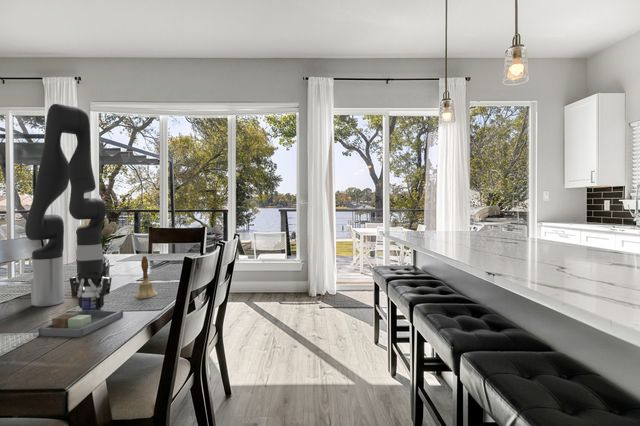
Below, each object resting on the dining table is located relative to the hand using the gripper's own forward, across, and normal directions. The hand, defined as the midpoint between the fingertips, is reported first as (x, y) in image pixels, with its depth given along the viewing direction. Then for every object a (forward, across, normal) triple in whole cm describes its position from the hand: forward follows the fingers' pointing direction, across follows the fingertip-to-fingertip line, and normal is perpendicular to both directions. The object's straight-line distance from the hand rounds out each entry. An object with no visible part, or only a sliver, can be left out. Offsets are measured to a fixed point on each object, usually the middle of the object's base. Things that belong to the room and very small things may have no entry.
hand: (91, 307), depth 125 cm
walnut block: (+2, +4, -16) cm, 17 cm away
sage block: (+2, +10, -16) cm, 19 cm away
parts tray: (+2, +7, -12) cm, 14 cm away
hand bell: (+3, +4, +25) cm, 25 cm away
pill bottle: (+3, 0, 0) cm, 3 cm away
